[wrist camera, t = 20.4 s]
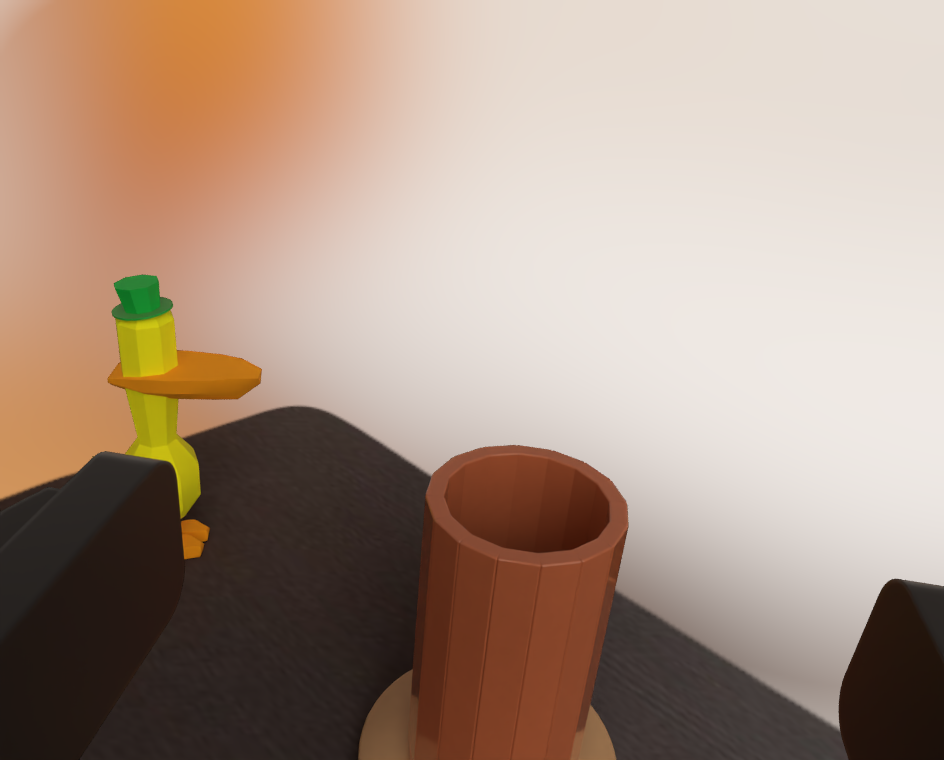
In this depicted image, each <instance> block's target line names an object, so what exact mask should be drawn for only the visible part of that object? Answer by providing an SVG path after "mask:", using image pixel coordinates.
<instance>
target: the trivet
mask: <svg viewBox="0 0 944 760" xmlns="http://www.w3.org/2000/svg"><path fill="white" fill-rule="evenodd" d="M412 672H413V669H412V670H410V671H409V672H407V673H405V674H404V675H402V676H401V677H400V678H398V679H397V680H396V681H394V682H393V683H392V684H391V685H390V686H389V687H388V688H387V689H386V690H385V691H384V692H383V693H382V695H381V696H380V697H379V698H378V700H377V701H376V702H375V704H374V705H373V707H372V709H371V711H370V712H369V714H368V716H367V719H366V721H365V724H364V726H363V729H362V733H361V737H360V742H359V753H358V760H409V755H408V744H409V741H408V727H409V713H410V699H411V686H412ZM578 760H616V756H615V752H614V748H613V744H612V742H611V739H610V737H609V734H608V732H607V730H606V728H605V726H604V724H603V722H602V721H601V719H600V717H599V716H598V714H597V713H596V712H595V710H594V709H593V707H592V706H591V705H590V708H589V712H588V717H587V722H586V726H585V731H584V736H583V740H582V745H581V750H580V754H579V759H578Z"/></svg>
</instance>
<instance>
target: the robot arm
mask: <svg viewBox="0 0 944 760" xmlns="http://www.w3.org/2000/svg"><path fill="white" fill-rule="evenodd" d="M184 573H185V561H184V550H183V539H182V528H181V516H180V505H179V494H178V483H177V475H176V471H175V469H174V467H173V465H172V464H171V463H170V462H168V461H164V460H158V459H152V458H145V457H139V456H133V455H126V454H120V453H113V452H107V451H105V452H100V453H99V454H97V455H95V456H94V457H93V458H92V459H91V460H90V461H89V462H88V463H87V464H86V465H85V466H84V467H83V468H82V469H81V470H80V471H79V472H78V473H76V474H75V475H74V476H73V477H72V478H71V479H70V480H69V481H68V482H67V483H66V484H65V485H64V486H63V487H62V488H61V489H57V488H51V487H47V488H45V489H43V490H41V491H39V492H37V493H35V494H33V495H31V496H30V497H28V498H26V499H24V500H22V501H20V502H18V503H16V504H14V505H12V506H10V507H8V508H6V509H4V510H2V511H1V512H0V760H79V759H80V758H81V756H82V754H83V753H84V751H85V750H86V748H87V747H88V745H89V744H90V742H91V741H92V739H93V738H94V736H95V734H96V733H97V731H98V730H99V728H100V727H101V725H102V724H103V722H104V721H105V719H106V718H107V716H108V714H109V713H110V711H111V710H112V708H113V707H114V705H115V704H116V702H117V701H118V699H119V698H120V696H121V695H122V693H123V691H124V690H125V688H126V687H127V685H128V684H129V682H130V681H131V679H132V678H133V676H134V675H135V673H136V671H137V670H138V668H139V667H140V665H141V664H142V662H143V661H144V659H145V658H146V656H147V655H148V653H149V651H150V650H151V648H152V647H153V645H154V644H155V642H156V641H157V639H158V638H159V636H160V635H161V633H162V632H163V630H164V628H165V627H166V625H167V624H168V622H169V621H170V619H171V617H172V615H173V613H174V611H175V609H176V607H177V604H178V601H179V598H180V595H181V591H182V587H183V582H184ZM839 724H840V731H841V736H842V740H843V743H844V746H845V749H846V753H847V756H848V759H849V760H944V586H939V585H933V584H926V583H920V582H914V581H907V580H901V579H892V580H890V581H888V582H887V583H886V584H885V585H884V587H883V588H882V590H881V592H880V594H879V596H878V598H877V600H876V603H875V605H874V607H873V610H872V612H871V615H870V617H869V619H868V622H867V624H866V627H865V629H864V631H863V633H862V636H861V638H860V640H859V643H858V645H857V648H856V650H855V652H854V655H853V657H852V659H851V662H850V664H849V666H848V669H847V671H846V673H845V676H844V679H843V682H842V686H841V690H840V698H839Z"/></svg>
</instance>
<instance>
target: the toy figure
mask: <svg viewBox="0 0 944 760" xmlns="http://www.w3.org/2000/svg"><path fill="white" fill-rule="evenodd" d="M114 287H115V290H116V291H117V294H118V296H119V298H120V301H121V304H119V305H117V306H116V307H115V308H114V309H113V310H112V315H113V316H114V318H115V320H116V327H117V336H118V344H119V353H120V361H121V362H120V363H118V365H117V366H116V367H115V369H114V370H113V372H112V373H111V374H110V376H109V377H108V383H110V384H112V385H114V386H117V387H120V388H123V389H125V390H126V394H127V397H128V401H129V405H130V409H131V413H132V417H133V421H134V424H135V429H136V432H137V436H138V437H137V439H136V440H135V441H134V443H133V444H132V445H131V447H130V448H129V449H128V451H127V452H126V453H125V454H126V455H133V456H139V457H145V458H152V459H158V460H164V461H168V462H170V463H171V464H172V465H173V467H174V469H175V471H176V475H177V483H178V494H179V505H180V516H181V519H182V518H183V517H184V516H185V515H186V514H187V512H188V511H189V509H190V508H191V507H192V505H193V504H194V503H195V501H196V500H197V498H198V497H199V496H200V494H201V491H200V478H199V465H198V460H197V458H196V455H195V452H194V449H193V448H192V447H191V446H190V445H189V444H188V443H187V442H186V441H184V440H183V439H182V438H181V437H180V436H179V435H177V434H176V431H177V413H178V399H212V400H214V399H215V400H216V399H239V398H240V397H242V396H243V395H244V394H246V393H247V392H249V391H250V390H251V389H253V388H254V387H256V386H257V385H259V384H260V382H261V371H262V369H261V368H259V367H257V366H255V365H253V364H251V363H249V362H248V361H246V360H244V359H242V358H237V357H231V356H227V355H222V354H213V353H204V352H193V351H181V350H177V349H176V337H175V325H174V318H173V316H172V313H171V311H170V309H172V307H173V303H172V301H171V300H170V299H167V298H164V297H160V295H159V281H158V278H157V276H151V275H137V276H132V277H125V278H123V279H121V280H119V281H117V282H115V283H114ZM93 457H94V456H93ZM181 528H182V539H183V550H184V559H189V558H195V557H200V556H201V553H202V551H203V547H204V543H202V542H204V541H207V539H208V535H209V531H210V528H209V527H207V526H205V525H204V524H202V523H200V522H199V521H197V520H195V519H194V520H185V521H182V522H181Z"/></svg>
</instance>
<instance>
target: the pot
mask: <svg viewBox="0 0 944 760" xmlns="http://www.w3.org/2000/svg"><path fill="white" fill-rule="evenodd" d="M627 510H628V509H627V503H626V500H625V499H624V498H623V496H622V495H621V493H620V492H619V491H618V489H617V488H616V486H615V485H614V483H613V482H612V481H610V479H609V478H607V477H606V476H604V475H603V474H601V473H600V472H598V471H597V470H596V469H594V468H593V467H591V466H590V465H588V464H587V463H584V462H583V461H580V460H578V459H575V458H572V457H569V456H567V455H564V454H561V453H559V452H556V451H551V450H548V449H541V448H534V447H527V446H520V445H517V446H516V445H508V446H493V447H483V448H478V449H475V450H473V451H470V452H466V453H463V454H460V455H457V456H455V457H453V458H451V459H450V460H449V461H447V462H446V463H445V464H444V465H443V466H441V467H440V468H439V469H438V470H436V471H435V472H434V473H433V475H432V477H431V480H430V483H429V486H428V489H427V492H426V495H425V509H424V522H423V536H422V549H421V563H420V577H419V590H418V604H417V618H416V631H415V645H414V658H413V672H412V686H411V699H410V713H409V727H408V741H409V744H408V755H409V760H578V759H579V754H580V750H581V745H582V740H583V736H584V731H585V726H586V722H587V717H588V712H589V708H590V703H591V698H592V694H593V689H594V684H595V680H596V675H597V670H598V666H599V661H600V656H601V652H602V647H603V642H604V638H605V633H606V628H607V624H608V619H609V614H610V610H611V605H612V600H613V596H614V591H615V586H616V582H617V577H618V573H619V568H620V563H621V559H622V554H623V549H624V545H625V539H626V535H627V531H628V511H627Z"/></svg>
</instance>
